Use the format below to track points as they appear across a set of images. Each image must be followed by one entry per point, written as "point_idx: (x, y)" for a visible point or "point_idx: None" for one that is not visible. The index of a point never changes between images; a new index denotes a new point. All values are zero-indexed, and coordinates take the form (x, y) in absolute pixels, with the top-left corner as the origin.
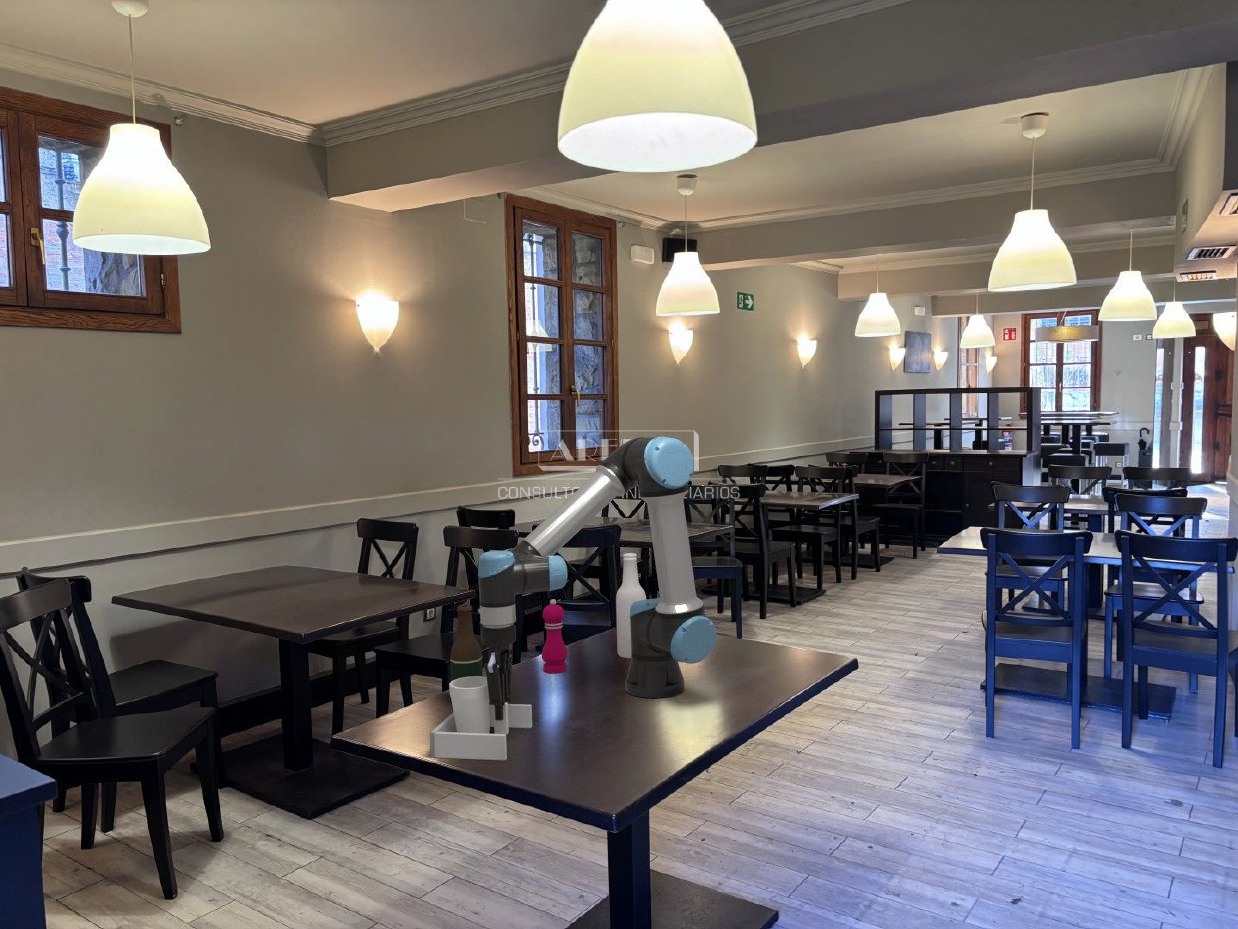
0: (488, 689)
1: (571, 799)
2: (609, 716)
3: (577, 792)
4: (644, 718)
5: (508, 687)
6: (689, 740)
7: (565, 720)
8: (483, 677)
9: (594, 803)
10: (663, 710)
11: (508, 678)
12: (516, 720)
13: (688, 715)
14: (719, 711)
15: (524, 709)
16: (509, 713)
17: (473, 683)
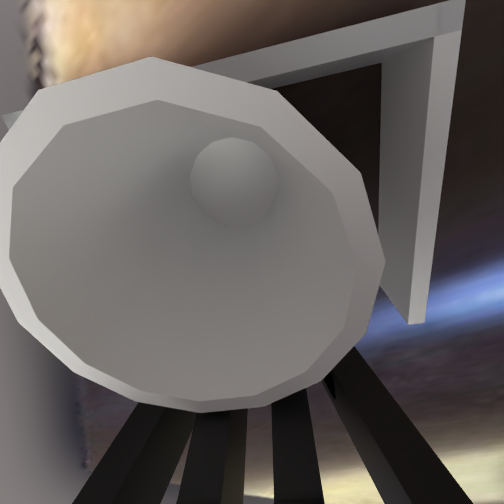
0: (129, 418)
1: (88, 434)
2: (469, 395)
3: (112, 434)
4: (452, 439)
5: (327, 392)
6: (345, 490)
7: (444, 331)
8: (345, 317)
9: (96, 453)
10: (500, 453)
11: (352, 439)
12: (387, 256)
13: (465, 479)
14: (483, 501)
15: (403, 300)
16: (398, 245)
17: (325, 213)
